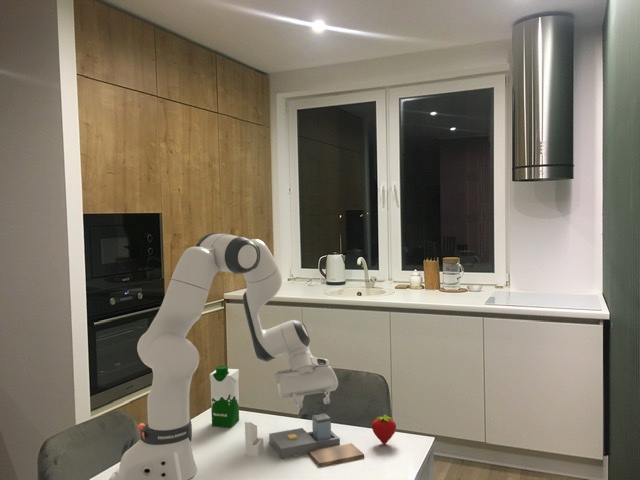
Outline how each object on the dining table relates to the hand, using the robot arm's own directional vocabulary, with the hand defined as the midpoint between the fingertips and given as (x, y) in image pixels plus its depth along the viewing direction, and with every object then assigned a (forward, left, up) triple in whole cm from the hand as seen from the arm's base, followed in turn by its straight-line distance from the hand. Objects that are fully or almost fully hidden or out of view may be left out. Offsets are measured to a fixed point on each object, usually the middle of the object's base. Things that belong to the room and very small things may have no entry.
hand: (314, 405), depth 172 cm
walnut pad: (0, -17, -10) cm, 20 cm away
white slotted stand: (-21, -4, -10) cm, 24 cm away
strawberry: (+17, -15, -10) cm, 25 cm away
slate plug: (0, -6, -10) cm, 11 cm away
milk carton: (-24, +22, -10) cm, 34 cm away
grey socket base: (-6, -6, -10) cm, 13 cm away
